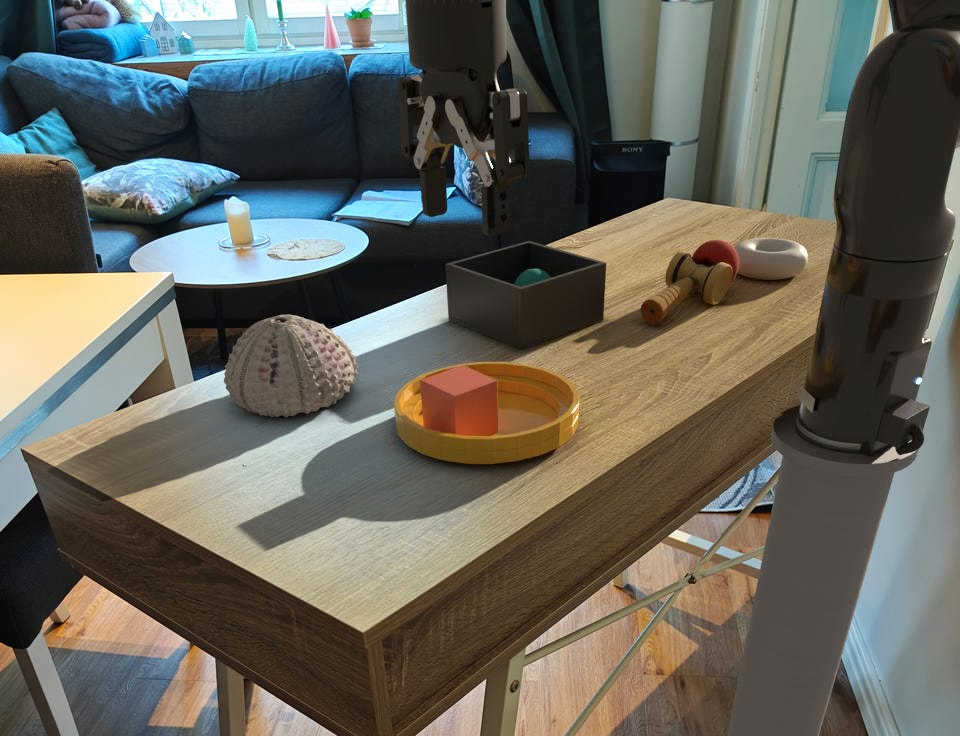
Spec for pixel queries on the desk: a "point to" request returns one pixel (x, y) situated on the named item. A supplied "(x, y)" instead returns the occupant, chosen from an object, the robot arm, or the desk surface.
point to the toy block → (460, 402)
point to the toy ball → (531, 277)
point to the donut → (770, 258)
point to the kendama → (694, 278)
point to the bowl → (521, 416)
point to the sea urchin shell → (289, 367)
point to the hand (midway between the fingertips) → (464, 224)
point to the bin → (525, 293)
